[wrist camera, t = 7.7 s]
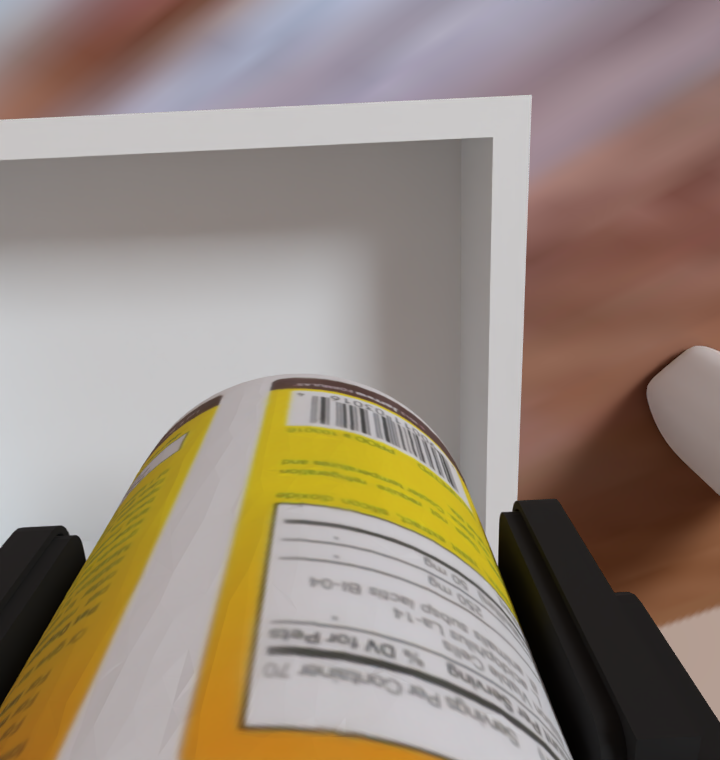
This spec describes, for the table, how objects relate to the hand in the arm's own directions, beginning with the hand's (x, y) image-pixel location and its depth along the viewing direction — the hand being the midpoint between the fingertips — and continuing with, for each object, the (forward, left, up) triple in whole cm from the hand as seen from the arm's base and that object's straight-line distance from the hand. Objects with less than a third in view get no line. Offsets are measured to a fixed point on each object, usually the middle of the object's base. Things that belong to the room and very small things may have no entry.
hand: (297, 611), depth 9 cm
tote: (+4, 0, -13) cm, 13 cm away
